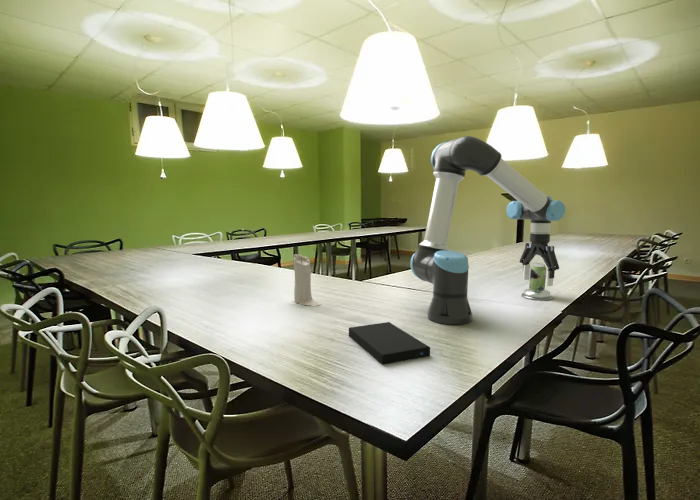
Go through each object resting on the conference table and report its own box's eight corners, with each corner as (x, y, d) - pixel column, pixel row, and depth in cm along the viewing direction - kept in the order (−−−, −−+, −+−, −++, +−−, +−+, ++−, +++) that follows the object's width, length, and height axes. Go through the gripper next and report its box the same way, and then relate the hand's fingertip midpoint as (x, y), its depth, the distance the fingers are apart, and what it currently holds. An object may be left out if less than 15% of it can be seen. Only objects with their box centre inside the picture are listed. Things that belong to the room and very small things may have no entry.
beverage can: (541, 289, 167) (542, 262, 165) (548, 293, 159) (549, 265, 158) (526, 289, 167) (527, 262, 166) (532, 293, 160) (534, 265, 158)
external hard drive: (389, 330, 123) (389, 321, 123) (430, 357, 102) (430, 346, 102) (348, 337, 118) (348, 327, 118) (382, 366, 97) (382, 355, 96)
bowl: (535, 301, 156) (535, 295, 156) (515, 294, 168) (515, 289, 167) (559, 299, 159) (559, 293, 159) (538, 292, 171) (538, 287, 171)
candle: (310, 307, 150) (309, 257, 148) (291, 300, 161) (289, 254, 158) (324, 304, 155) (324, 255, 153) (305, 298, 165) (304, 252, 163)
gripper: (571, 235, 149) (567, 288, 152) (526, 230, 173) (524, 276, 176) (555, 235, 147) (552, 289, 150) (512, 231, 171) (510, 277, 174)
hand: (537, 282), depth 163 cm, fingers open, 13 cm apart
